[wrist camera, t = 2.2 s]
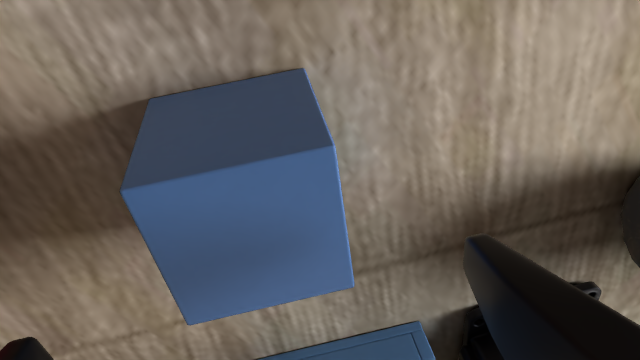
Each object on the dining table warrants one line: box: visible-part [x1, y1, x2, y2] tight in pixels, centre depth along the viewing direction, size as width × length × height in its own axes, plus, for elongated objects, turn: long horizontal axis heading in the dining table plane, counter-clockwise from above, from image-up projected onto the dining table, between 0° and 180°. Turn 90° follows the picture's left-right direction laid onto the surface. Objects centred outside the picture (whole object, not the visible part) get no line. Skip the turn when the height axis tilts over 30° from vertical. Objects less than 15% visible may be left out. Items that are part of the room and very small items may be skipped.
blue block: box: [120, 68, 355, 325], centre depth 12 cm, size 4×4×4 cm
